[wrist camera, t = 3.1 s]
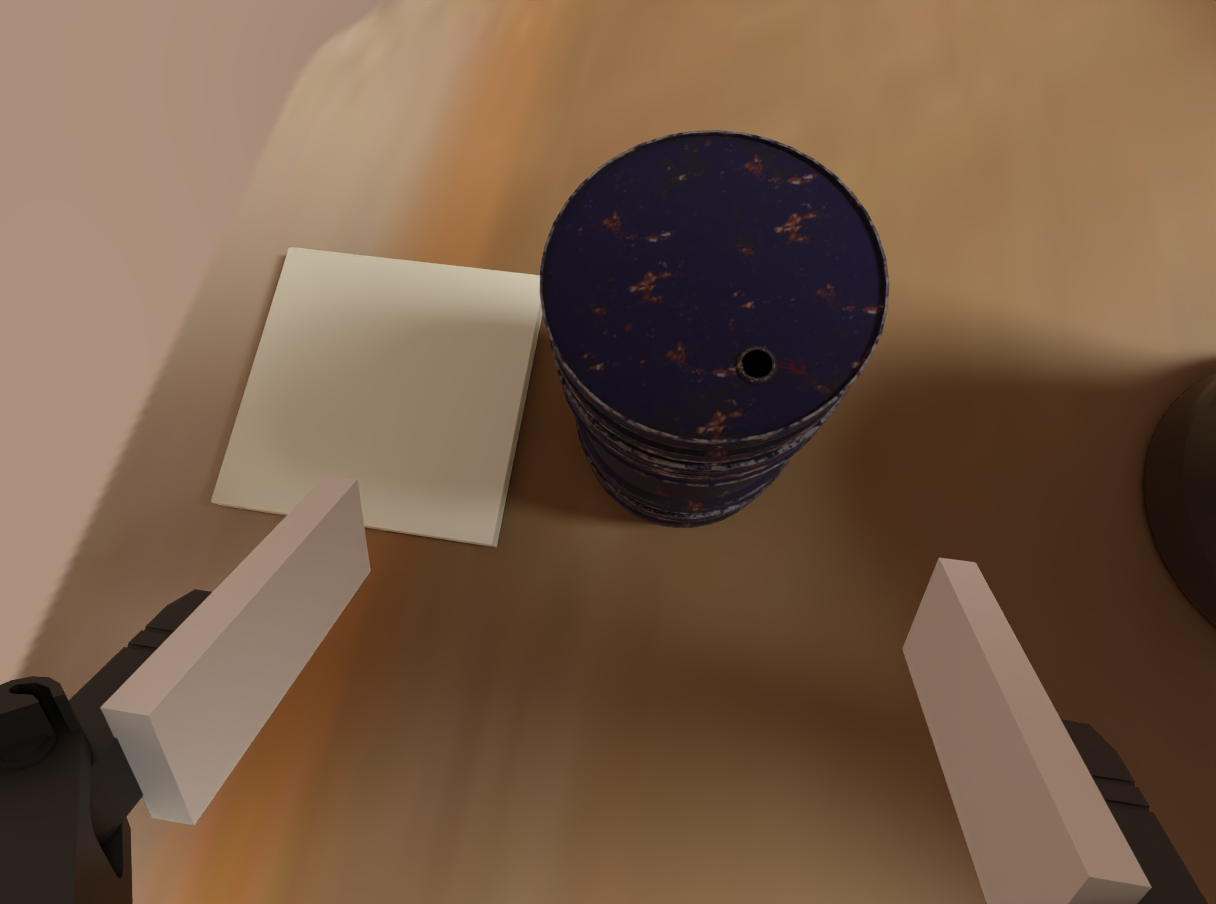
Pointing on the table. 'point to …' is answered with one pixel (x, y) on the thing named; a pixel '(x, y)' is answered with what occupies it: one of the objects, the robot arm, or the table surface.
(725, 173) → the rusty oil drum
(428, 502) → the placemat
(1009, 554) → the table surface
